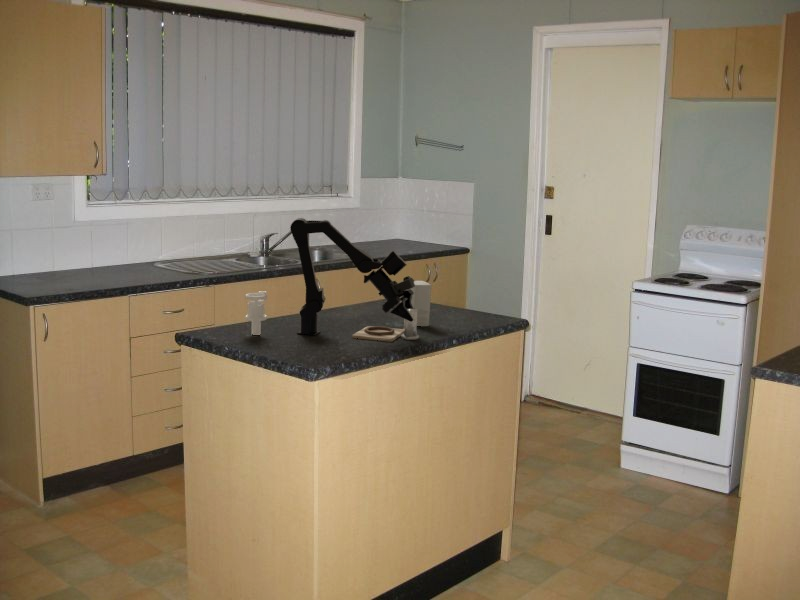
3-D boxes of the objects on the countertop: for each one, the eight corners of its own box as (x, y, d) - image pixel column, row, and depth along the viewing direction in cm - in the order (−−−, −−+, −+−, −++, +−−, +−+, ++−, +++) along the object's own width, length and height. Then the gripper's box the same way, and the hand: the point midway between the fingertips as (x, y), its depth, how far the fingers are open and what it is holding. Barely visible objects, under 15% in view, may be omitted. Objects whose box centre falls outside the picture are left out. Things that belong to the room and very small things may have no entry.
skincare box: (404, 322, 330) (405, 280, 327) (420, 321, 332) (422, 280, 330) (413, 327, 322) (415, 284, 319) (430, 326, 325) (432, 283, 322)
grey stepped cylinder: (266, 337, 300) (266, 293, 297) (245, 337, 299) (245, 293, 296) (266, 332, 307) (266, 289, 304) (245, 332, 306) (245, 289, 303)
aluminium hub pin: (415, 340, 301) (416, 311, 300) (398, 339, 303) (399, 310, 301) (420, 337, 307) (421, 308, 305) (404, 335, 309) (405, 307, 307)
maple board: (391, 341, 299) (391, 336, 298) (352, 337, 303) (352, 332, 303) (405, 332, 314) (405, 326, 313) (367, 328, 318) (368, 323, 318)
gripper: (392, 273, 293) (423, 309, 292) (409, 265, 311) (438, 299, 310) (369, 295, 297) (399, 330, 296) (386, 286, 314) (416, 320, 313)
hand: (414, 319), depth 303 cm, fingers closed on aluminium hub pin, 4 cm apart
